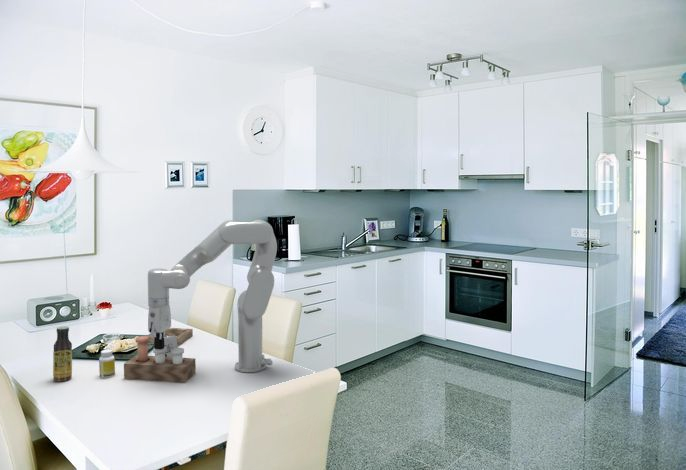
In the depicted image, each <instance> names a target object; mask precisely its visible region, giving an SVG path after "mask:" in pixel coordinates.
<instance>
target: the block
mask: <svg viewBox="0 0 686 470" xmlns="http://www.w3.org/2000/svg"><path fill="white" fill-rule="evenodd" d="M182 360H183V363H182V364H173V357H165V362H164V363H155V355H148V361H147V362H138V354H137V355H135V356H133V357H132V358H130V359H129V360H127V361H126V362H124V363H123V379H124V380H133V381H135V380H136V381H146V382H147V381H148V382H149V381H150V382H164V383H176V384H177V383H178V384H186V383H187V382H188V381H189V380H190V379H191V378H192V377H194V375H196V374H197V373H196V371H197V369H196V362H197V361H196V358H194V357H193V358H192V357H182Z"/></svg>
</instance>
